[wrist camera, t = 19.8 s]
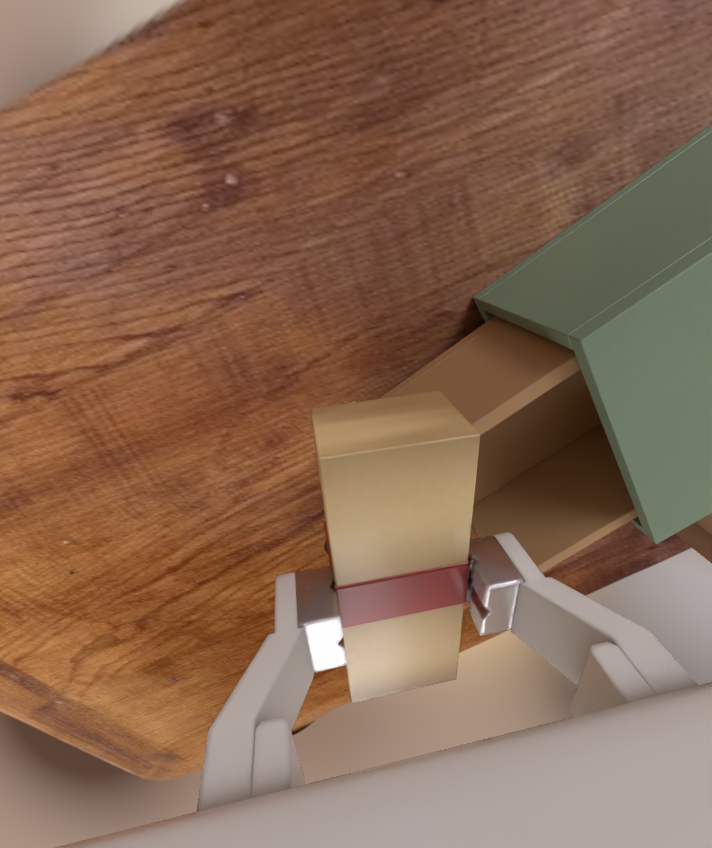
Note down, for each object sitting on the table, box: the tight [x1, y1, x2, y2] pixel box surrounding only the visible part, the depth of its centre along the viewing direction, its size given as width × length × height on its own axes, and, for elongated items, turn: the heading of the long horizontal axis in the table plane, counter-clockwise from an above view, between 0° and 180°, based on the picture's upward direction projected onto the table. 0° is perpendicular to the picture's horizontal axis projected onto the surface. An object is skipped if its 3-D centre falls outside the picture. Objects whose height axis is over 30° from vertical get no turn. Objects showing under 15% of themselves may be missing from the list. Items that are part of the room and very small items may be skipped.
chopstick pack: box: [310, 391, 480, 703], centre depth 11 cm, size 9×4×2 cm, turn 4°
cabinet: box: [473, 124, 712, 544], centre depth 21 cm, size 17×15×10 cm
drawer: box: [325, 316, 638, 604], centre depth 23 cm, size 20×13×8 cm, turn 125°
